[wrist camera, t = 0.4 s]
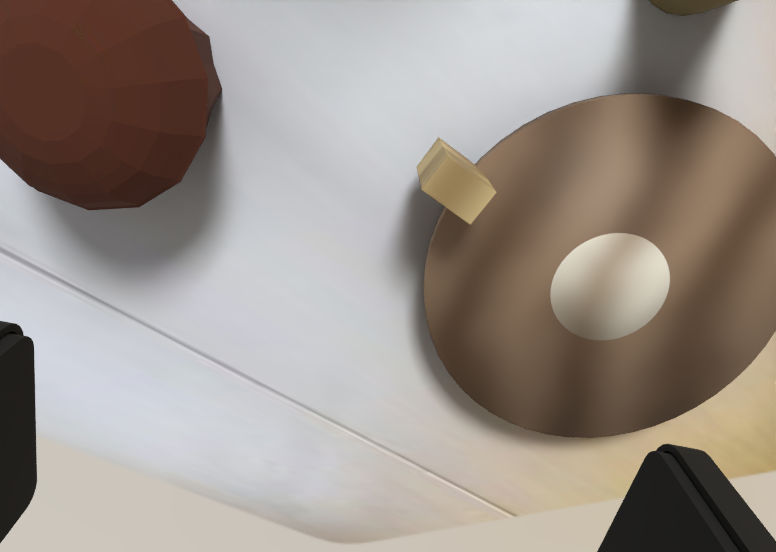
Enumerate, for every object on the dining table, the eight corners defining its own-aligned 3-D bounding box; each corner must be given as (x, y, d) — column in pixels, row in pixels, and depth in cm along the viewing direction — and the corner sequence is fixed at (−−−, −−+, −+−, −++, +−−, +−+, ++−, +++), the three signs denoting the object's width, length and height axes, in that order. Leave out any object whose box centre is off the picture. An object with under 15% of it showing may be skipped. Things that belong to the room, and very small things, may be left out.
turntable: (853, 115, 30) (937, 129, 26) (719, 439, 39) (763, 494, 35) (428, 70, 30) (435, 77, 25) (387, 412, 38) (387, 465, 34)
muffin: (33, -64, 29) (-132, -109, 20) (248, -23, 30) (186, -47, 21) (48, 162, 34) (-81, 211, 24) (234, 194, 34) (177, 252, 25)
